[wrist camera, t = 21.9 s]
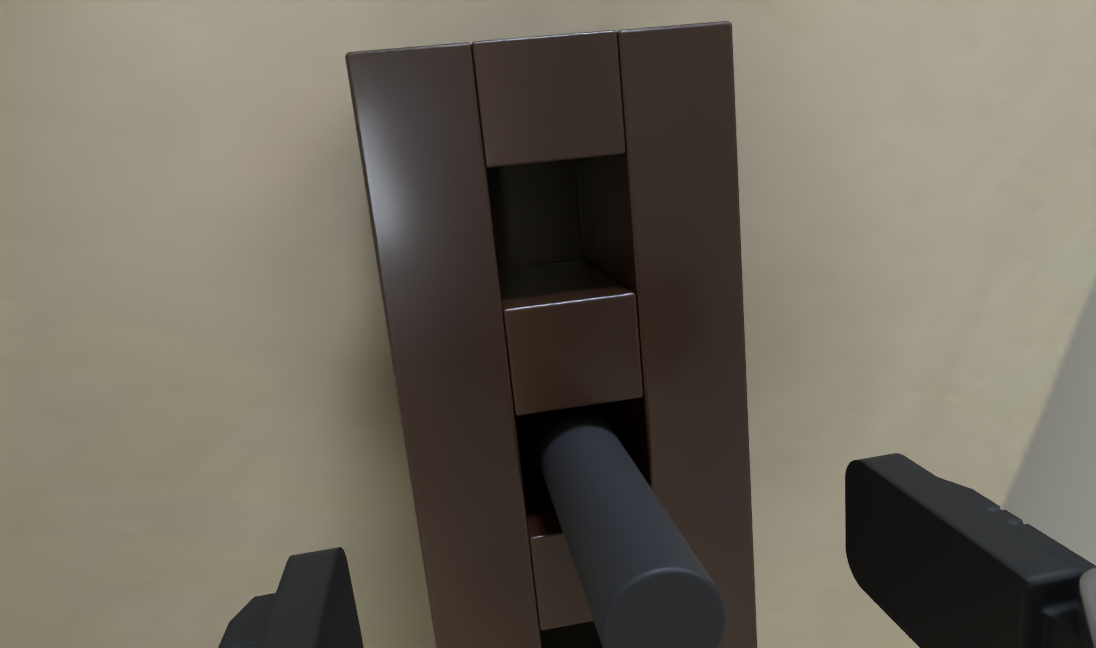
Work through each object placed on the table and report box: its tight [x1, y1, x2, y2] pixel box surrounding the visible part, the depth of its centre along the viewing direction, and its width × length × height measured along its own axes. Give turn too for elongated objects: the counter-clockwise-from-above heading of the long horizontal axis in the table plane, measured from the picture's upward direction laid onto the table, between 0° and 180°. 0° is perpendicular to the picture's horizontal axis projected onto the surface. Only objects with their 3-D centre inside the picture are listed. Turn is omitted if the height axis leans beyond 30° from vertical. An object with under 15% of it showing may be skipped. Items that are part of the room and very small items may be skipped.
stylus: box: [523, 405, 726, 648], centre depth 17 cm, size 2×2×12 cm
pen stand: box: [345, 21, 757, 648], centre depth 20 cm, size 8×19×6 cm, turn 6°
